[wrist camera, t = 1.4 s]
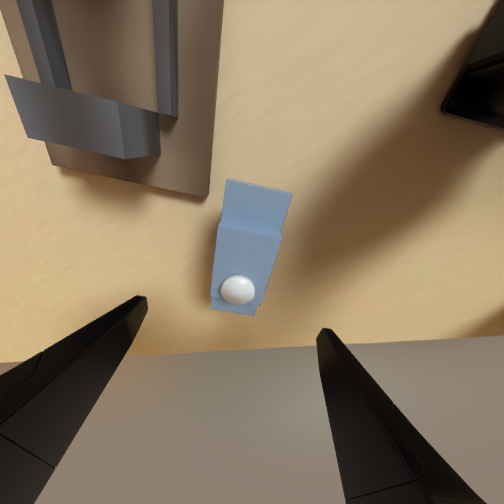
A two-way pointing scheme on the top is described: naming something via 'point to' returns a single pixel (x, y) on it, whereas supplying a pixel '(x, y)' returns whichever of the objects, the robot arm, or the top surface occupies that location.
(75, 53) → the pocket board
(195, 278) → the top surface
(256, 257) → the block
